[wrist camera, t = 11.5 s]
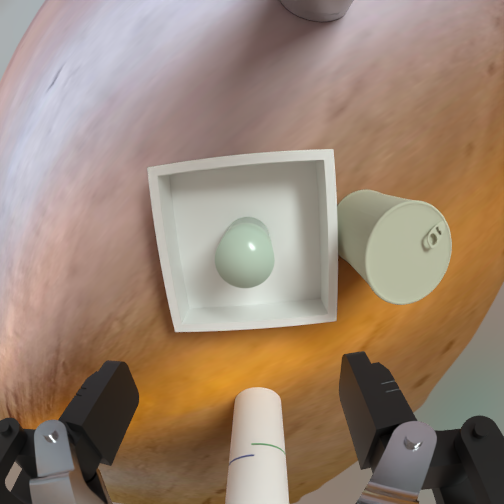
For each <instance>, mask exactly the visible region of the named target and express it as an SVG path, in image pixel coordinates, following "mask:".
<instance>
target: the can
mask: <svg viewBox="0 0 504 504" xmlns="http://www.w3.org/2000/svg"><path fill="white" fill-rule="evenodd" d="M337 224H338V254H339V256H340V257H341V258H343V259H344V260H345V261H347V262H348V263H349V264H350V265H351V266H352V267H353V268H354V269H355V270H356V271H357V272H358V273H359V274H360V275H361V276H362V278H363V279H364V280H365V281H366V282H367V283H368V284H369V285H370V287H371V289H372V290H373V291H374V293H375V294H376V295H377V296H378V297H380V298H381V299H383V300H384V301H386V302H389V303H392V304H397V305H404V304H410V303H413V302H416V301H418V300H420V299H422V298H424V297H425V296H427V295H428V294H429V293H430V292H432V291H433V290H434V289H435V287H436V286H437V285H438V284H439V282H440V281H441V279H442V278H443V276H444V274H445V272H446V270H447V268H448V265H449V261H450V257H451V250H452V241H451V234H450V230H449V227H448V224H447V222H446V220H445V218H444V217H443V215H442V214H441V213H440V212H439V211H438V210H437V209H436V208H435V207H433V206H432V205H430V204H428V203H426V202H423V201H417V200H409V199H404V198H399V197H394V196H390V195H385V194H381V193H379V192H377V191H373V190H360V191H356V192H353V193H351V194H349V195H348V196H346V197H345V198H344V199H343V200H342V201H341V202H340V203H339V204H338V206H337Z"/></svg>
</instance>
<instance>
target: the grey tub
mask: <svg viewBox="0 0 504 504" xmlns="http://www.w3.org/2000/svg"><path fill="white" fill-rule="evenodd" d="M147 171H148V181H149V189H150V198H151V205H152V213H153V220H154V227H155V233H156V240H157V246H158V252H159V257H160V263H161V268H162V274H163V279H164V284H165V289H166V294H167V298H168V303H169V308H170V312H171V317H172V321H173V325H174V329H175V332H201V331H227V330H245V329H260V328H273V327H285V326H296V325H306V324H315V323H324V322H333V321H336V320H337V294H338V224H337V197H336V179H335V164H334V152H333V149H323V150H295V151H278V152H263V153H251V154H240V155H231V156H222V157H213V158H205V159H198V160H190V161H184V162H177V163H171V164H165V165H159V166H153V167H147ZM242 217H253V218H256V219H258V220H260V221H262V222H263V223H264V224H265V225H266V227H267V228H268V230H269V233H270V238H271V242H272V247H273V252H274V258H275V262H274V267H273V270H272V273H271V274H270V276H269V277H268V278H267V279H266V280H265V281H264V282H263V283H262V284H260V285H258V286H255V287H252V288H238V287H235V286H232V285H230V284H228V283H227V282H226V281H224V280H223V279H222V277H221V276H220V275H219V273H218V271H217V269H216V265H215V253H216V250H217V247H218V245H219V244H220V242H221V240H222V238H223V236H224V234H225V232H226V231H227V229H228V227H229V226H230V224H231V223H232V222H234V221H235V220H237V219H239V218H242Z"/></svg>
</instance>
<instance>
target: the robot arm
mask: <svg viewBox="0 0 504 504" xmlns="http://www.w3.org/2000/svg"><path fill="white" fill-rule="evenodd" d="M280 1H281V3H282V4H283V5H284V7H285V8H287V9H288V10H289V11H290V12H292V13H294V14H295V15H297V16H299V17H302V18H304V19H308V20H312V21H319V22H327V21H333V20H336V19H339V18H340V17H342V16H343V15H344V14H345V13H346V12H347V10H348V9H349V7H350V5H351V4H352V2H353V0H280ZM339 396H340V401H341V404H342V408H343V411H344V414H345V417H346V420H347V424H348V427H349V430H350V434H351V437H352V440H353V444H354V447H355V451H356V454H357V458H358V461H359V465H360V468H361V470H362V469H366V468H370V467H371V469H372V472H373V475H372V477H371V479H370V481H369V482H368V484H367V486H366V488H365V489H364V491H363V493H362V494H361V496H360V498H359V499H358V501H357V503H356V504H419V501H417V498H418V495H419V492H420V490H423V489H432V491H433V494H434V497H435V500H436V504H504V436H503V435H502V433H501V431H500V430H499V428H498V427H497V425H496V423H495V422H494V421H493V420H491V419H490V418H488V417H485V416H474V417H471V418H469V419H468V420H466V422H465V423H464V424H463V426H462V427H461V429H454V430H445V431H435V430H434V429H433V428H432V427H431V426H429V425H427V424H426V423H423V422H419V421H417V419H416V418H415V416H414V414H413V412H412V410H411V408H410V406H409V405H408V403H407V401H406V399H405V397H404V396H403V394H402V392H401V390H399V387H398V385H397V383H396V382H395V380H394V378H393V376H392V374H391V373H390V371H389V370H388V369H387V368H386V367H384V366H383V365H382V364H380V363H379V362H378V363H373V364H371V363H370V361H369V359H368V357H367V355H366V353H365V352H364V351H362V352H356V353H349V354H344V355H343V357H342V364H341V373H340V381H339ZM138 403H139V393H138V390H137V387H136V385H135V382H134V380H133V378H132V375H131V373H130V370H129V368H128V365H127V364H126V363H125V362H120V361H109V360H108V361H106V362H105V363H104V364H103V365H102V367H101V368H100V370H99V371H98V372H97V371H96V372H95V373H94V374H92V375H91V376H90V377H88V378H87V379H86V381H85V382H84V383H83V385H82V386H81V389H79V391H78V392H77V393H76V396H74V398H73V399H72V401H71V402H70V404H69V405H68V406H67V408H66V409H65V411H64V412H63V414H62V415H61V417H60V418H59V420H48V421H45V422H43V423H42V424H40V425H39V426H38V427H37V429H36V430H33V429H23V428H22V427H21V426H20V424H19V423H18V421H17V420H16V419H14V418H5V419H3V420H1V421H0V504H113V503H112V501H111V498H110V496H109V494H108V491H107V489H106V486H105V483H104V481H103V478H102V475H101V472H100V470H99V469H98V466H99V464H100V463H102V464H106V465H110V466H111V465H112V463H113V460H114V458H115V456H116V453H117V451H118V449H119V446H120V444H121V442H122V440H123V437H124V435H125V433H126V430H127V428H128V426H129V424H130V421H131V419H132V417H133V415H134V413H135V410H136V408H137V406H138ZM14 462H16V463H17V464H18V465H19V466H20V467H21V468H22V471H21V472H20V474H19V476H18V478H17V480H16V482H15V484H14V486H13V488H12V490H11V492H10V491H9V490H8V489H7V488H6V486H5V478H6V476H7V475H8V473H9V471H10V469H11V467H12V465H13V464H14Z"/></svg>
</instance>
